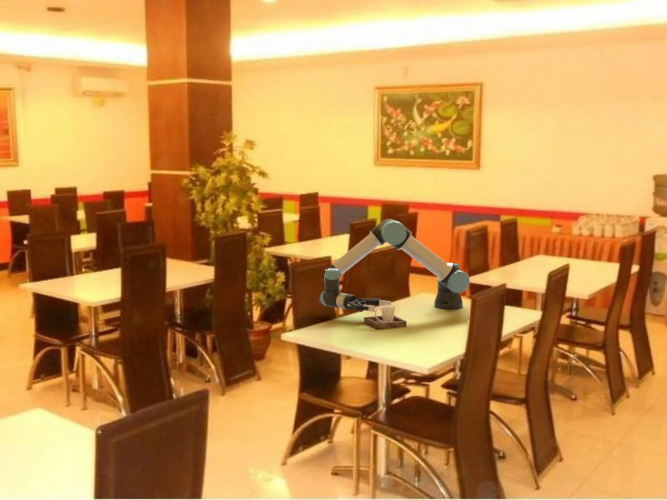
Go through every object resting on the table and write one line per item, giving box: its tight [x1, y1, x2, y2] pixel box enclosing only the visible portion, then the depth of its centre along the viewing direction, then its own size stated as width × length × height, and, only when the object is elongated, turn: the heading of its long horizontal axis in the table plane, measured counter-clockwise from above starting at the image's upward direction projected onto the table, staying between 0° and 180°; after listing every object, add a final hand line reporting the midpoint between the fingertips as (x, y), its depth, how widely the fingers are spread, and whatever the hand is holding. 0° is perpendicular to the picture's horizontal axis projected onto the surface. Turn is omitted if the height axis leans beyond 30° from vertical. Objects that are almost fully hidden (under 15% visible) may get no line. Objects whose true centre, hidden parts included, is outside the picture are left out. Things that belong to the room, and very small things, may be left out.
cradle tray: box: [363, 315, 407, 330], centre depth 343 cm, size 15×15×2 cm
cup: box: [374, 304, 396, 323], centre depth 343 cm, size 7×10×8 cm
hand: (382, 306), depth 343 cm, fingers open, 13 cm apart
